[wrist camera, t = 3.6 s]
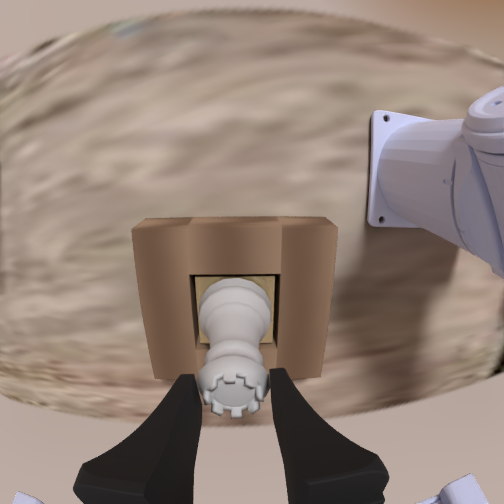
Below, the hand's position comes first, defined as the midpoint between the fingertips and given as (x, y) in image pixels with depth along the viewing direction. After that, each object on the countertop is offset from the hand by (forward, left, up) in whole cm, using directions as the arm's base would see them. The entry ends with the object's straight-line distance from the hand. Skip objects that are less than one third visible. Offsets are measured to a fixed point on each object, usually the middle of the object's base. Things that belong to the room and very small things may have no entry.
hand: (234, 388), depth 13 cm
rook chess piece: (0, 0, -7) cm, 7 cm away
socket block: (0, 0, -10) cm, 10 cm away
